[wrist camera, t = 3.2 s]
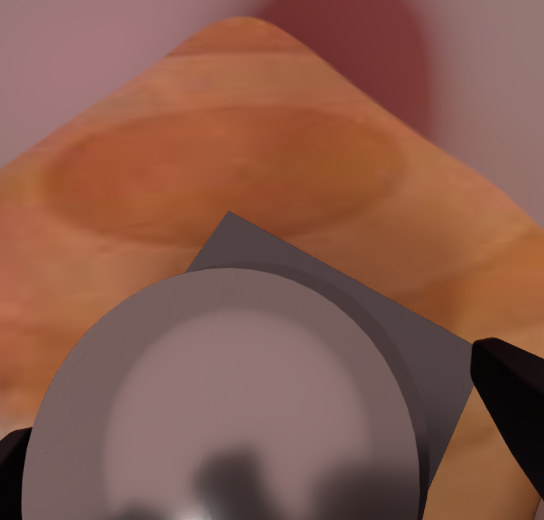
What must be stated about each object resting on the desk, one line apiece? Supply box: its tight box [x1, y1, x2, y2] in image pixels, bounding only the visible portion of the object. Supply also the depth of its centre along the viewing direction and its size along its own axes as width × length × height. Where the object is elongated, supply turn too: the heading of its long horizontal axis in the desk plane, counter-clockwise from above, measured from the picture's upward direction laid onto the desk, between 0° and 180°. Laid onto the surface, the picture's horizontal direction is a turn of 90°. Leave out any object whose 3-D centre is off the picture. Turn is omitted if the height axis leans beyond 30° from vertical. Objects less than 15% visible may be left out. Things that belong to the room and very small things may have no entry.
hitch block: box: [185, 211, 474, 490], centre depth 14 cm, size 10×10×3 cm
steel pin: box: [22, 262, 430, 520], centre depth 9 cm, size 4×4×12 cm
